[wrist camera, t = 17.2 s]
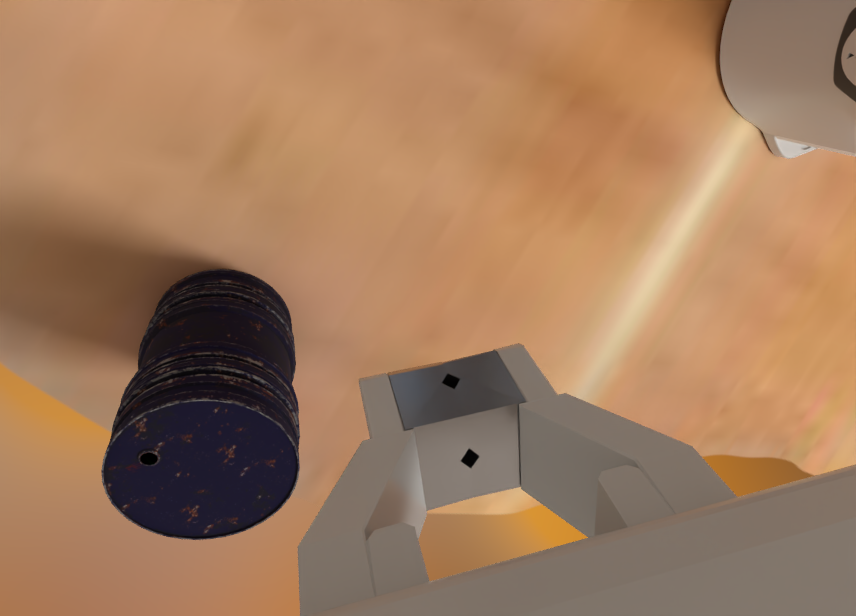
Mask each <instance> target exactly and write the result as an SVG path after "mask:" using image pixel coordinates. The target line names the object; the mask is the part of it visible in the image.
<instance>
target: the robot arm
mask: <svg viewBox="0 0 856 616" xmlns="http://www.w3.org/2000/svg"><path fill="white" fill-rule="evenodd" d="M720 68H721V76H722V81H723V85H724V88H725V91H726V94H727V96H728V98H729V100H730V102H731V104H732V105H733V107H734V108H735V109H736V110H737V112H738V113H739V114H740V115H741V116H742V117H744V118H745V119H746V120H748V121H749V122H750V123H752V124H753V125H755V126H756V127H758V128H759V129H760V130H761V131H762V132H763V134H764V137H765V139H766V142H767V144H768V146H769V148H770V150H771V151H772V153H773V154H774V155H776V156H778V157H782V158H788V159H790V158H794V157H797V156H800V155H802V154H805V153H807V152H810V151H813V150H815V149H818V148H819V149H824V150H828V151H833V152H837V153H842V154H846V155H851V156H855V157H856V0H732V1H731V4H730V7H729V10H728V13H727V16H726V19H725V23H724V27H723V32H722V38H721V46H720ZM387 374H388V375H387ZM387 374H386V373H383V374H379V375H374V376H370V377H365V378H360V379H359V386H360V391H361V396H362V401H363V406H364V411H365V416H366V421H367V426H368V431H369V436H370V439H368V440H364V441H362V443H361V444H360V446H359V448H358V449H357V451H356V453H355V454H354V456H353V457H352V459H351V461H350V462H349V464H348V466H347V467H346V469H345V470H344V472H343V474H342V475H341V477H340V479H339V480H338V482H337V484H336V485H335V487H334V488H333V490H332V492H331V493H330V495H329V497H328V498H327V500H326V501H325V503H324V505H323V506H322V508H321V510H320V512H319V513H318V515H317V516H316V518H315V519H314V521H313V523H312V525H311V526H310V528H309V529H308V531H307V532H306V534H305V536H304V537H303V539H302V541H301V542H300V544H299V546H298V566H299V594H300V616H856V465H852V466H849V467H845V468H841V469H838V470H834V471H831V472H827V473H823V474H820V475H816V476H812V477H809V478H805V479H802V480H798V481H795V482H791V483H787V484H784V485H780V486H777V487H773V488H769V489H766V490H762V491H758V492H755V493H751V494H747V495H744V496H740V497H737V496H736V495H735V494H734V493H733V492H732V491H731V490H730V488H729V487H728V486H727V485H726V484H725V483H724V482H723V480H722V479H721V478H720V477H719V476H718V475H717V474H716V473H715V471H713V469H712V468H711V467H710V466H709V465H708V464H707V463H706V461H705V460H704V459H703V458H702V457H701V456H700V455H699V454H698V452H697V451H696V450H695V449H694V448H693V447H692V446H690V445H688V444H685V443H683V442H681V441H678V440H676V439H673V438H671V437H669V436H666V435H664V434H661V433H659V432H657V431H654V430H652V429H650V428H647V427H645V426H642V425H640V424H638V423H635V422H633V421H631V420H628V419H626V418H623V417H621V416H619V415H616V414H614V413H611V412H609V411H607V410H604V409H602V408H600V407H597V406H595V405H592V404H590V403H588V402H585V401H583V400H581V399H578V398H576V397H573V396H571V395H569V394H566V393H564V394H560V395H558V394H557V393H556V391H555V390H554V389H553V387H552V386H551V384H550V383H549V381H548V380H547V379H546V377H545V376H544V374H543V373H542V371H541V370H540V368H539V367H538V366H537V364H536V363H535V361H534V360H533V358H532V357H531V356H530V354H529V353H528V351H527V350H526V348H525V347H524V345H522V344H519V343H518V344H514V345H510V346H506V347H502V348H498V349H494V350H493V351H490V352H485V353H481V354H476V355H472V356H468V357H463V358H459V359H455V360H450V361H446V362H439V363H434V364H428V365H423V366H418V367H413V368H408V369H403V370H398V371H393V372H388V373H387ZM517 487H521V489H522V490H523V491H525V492H526V493H528V494H529V495H530V496H532V497H533V498H535V499H536V500H537V501H539V502H540V503H541V504H543V505H544V506H546V507H547V508H548V509H550V510H551V511H553V512H554V513H555V514H557V515H558V516H559V517H561V518H562V519H564V520H565V521H566V522H568V523H569V524H570V525H572V526H573V527H575V528H576V529H577V530H579V531H580V532H582V533H583V534H584V535H586V536H587V537H588V538H586V539H582V540H579V541H576V542H572V543H568V544H565V545H561V546H557V547H554V548H550V549H546V550H543V551H539V552H535V553H532V554H528V555H524V556H521V557H517V558H513V559H510V560H506V561H502V562H499V563H495V564H492V565H488V566H484V567H481V568H477V569H473V570H470V571H466V572H462V573H459V574H456V575H452V576H448V577H444V578H441V579H438V580H433V581H430V582H429V578H428V575H427V571H426V567H425V563H424V560H423V556H422V553H421V549H420V545H419V541H418V538H419V536H420V533H421V530H422V527H423V524H424V521H425V518H426V515H427V511H428V510H431V509H435V508H438V507H442V506H445V505H449V504H452V503H456V502H459V501H463V500H466V499H470V498H473V497H478V496H482V495H486V494H491V493H495V492H500V491H504V490H508V489H513V488H517Z"/></svg>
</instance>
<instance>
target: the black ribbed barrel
mask: <svg viewBox="0 0 856 616" xmlns="http://www.w3.org/2000/svg"><path fill="white" fill-rule="evenodd" d="M138 357H139V359H138V371H137V373H136V374H135V375H134V377H133V378H132V380H131V381H130V383H129V384H128V386H127V387H126V389H125V391H124V394H123V396H122V399H121V404H120V407H119V409H118V412H117V415H116V417H115V420H114V423H113V428H112V434H111V439H110V443H109V445H108V447H107V450H106V453H105V456H104V459H103V465H102V482H103V486H104V488H105V492H106V494H107V496H108V498H109V499H110V501H111V503H112V504H113V505H114V507H115V508H116V509H117V510H118V511H119V512H120V513H121V514H122V515H123V516H124V517H126V518H127V519H128V520H129V521H131V522H133V523H134V524H136V525H138V526H140V527H141V528H143V529H146V530H148V531H151V532H153V533H156V534H160V535H163V536H167V537H173V538H179V539H192V540H201V539H214V538H221V537H226V536H230V535H234V534H237V533H240V532H243V531H246V530H248V529H251V528H253V527H254V526H257V525H258V524H260V523H262V522H264V521H265V520H267V519H268V518H270V517H271V516H273V515H274V514H275V513H276V512H277V511H278V510H279V509H280V508H281V507H282V506H283V505H284V504H285V503H286V501H287V500H288V499H289V498H290V496H291V494H292V492H293V491H294V489H295V486H296V483H297V480H298V476H299V468H300V466H299V452H298V449H299V448H298V446H299V437H300V431H299V418H298V415H299V409H298V401H297V398H296V394H295V392H294V389H293V386H292V381H293V378H294V373H295V365H296V361H295V346H294V336H293V333H292V324H291V317H290V313H289V310H288V308H287V306H286V304H285V302H284V301H283V299H282V298H281V296H280V295H279V294H278V293H277V292H276V291H275V290H274V289H273V288H272V287H271V286H270V285H268V284H267V283H265V282H264V281H262V280H260V279H259V278H257V277H255V276H252V275H250V274H247V273H244V272H239V271H235V270H225V269H217V270H207V271H202V272H198V273H195V274H192V275H190V276H187V277H185V278H184V279H182V280H180V281H178V282H177V283H176V284H174V285H173V286H172V287H171V288H170V289H169V290H168V291H167V292H166V293H165V294H164V295H163V297H162V298H161V300H160V301H159V303H158V306H157V308H156V311H155V314H154V316H153V317H152V319H151V320H150V323H149V325H148V328H147V330H146V333H145V335H144V337H143V340H142V342H141V345H140V349H139V355H138Z"/></svg>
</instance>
